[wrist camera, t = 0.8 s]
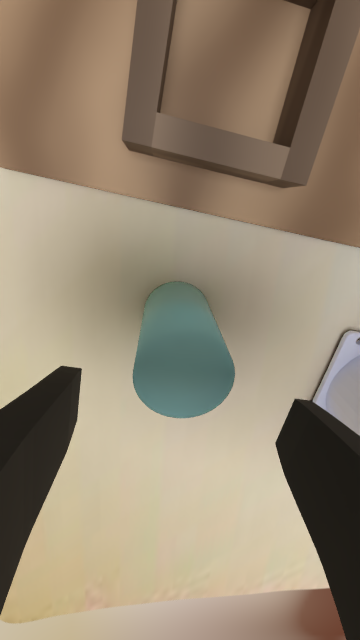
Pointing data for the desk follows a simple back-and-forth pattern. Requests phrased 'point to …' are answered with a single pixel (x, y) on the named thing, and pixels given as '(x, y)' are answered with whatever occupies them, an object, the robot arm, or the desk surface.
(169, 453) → the desk surface
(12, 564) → the robot arm
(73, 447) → the desk surface
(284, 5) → the peg stand
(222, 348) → the teal peg
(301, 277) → the desk surface
